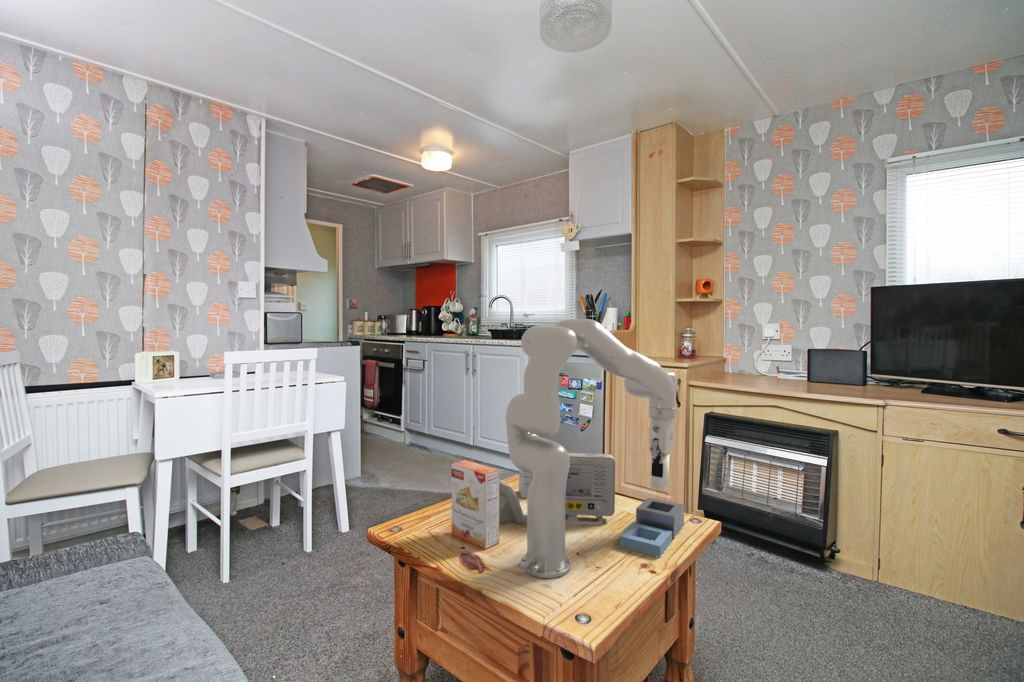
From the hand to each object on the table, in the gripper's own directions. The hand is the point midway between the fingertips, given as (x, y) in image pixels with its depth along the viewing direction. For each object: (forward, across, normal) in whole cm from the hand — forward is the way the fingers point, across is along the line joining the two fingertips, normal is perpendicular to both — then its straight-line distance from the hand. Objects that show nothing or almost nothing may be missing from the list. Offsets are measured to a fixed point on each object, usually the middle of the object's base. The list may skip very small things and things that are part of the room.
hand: (660, 473), depth 146 cm
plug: (+4, 0, 0) cm, 4 cm away
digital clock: (+18, -17, +42) cm, 49 cm away
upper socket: (+17, +1, 0) cm, 17 cm away
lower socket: (+17, -12, 0) cm, 21 cm away
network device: (+17, -7, +25) cm, 31 cm away
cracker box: (+18, -36, +41) cm, 57 cm away
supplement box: (+17, +4, +47) cm, 50 cm away
